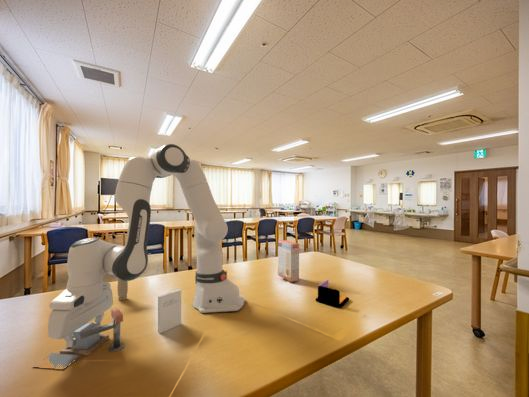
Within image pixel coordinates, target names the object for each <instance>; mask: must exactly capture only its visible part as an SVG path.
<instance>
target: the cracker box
mask: <svg viewBox="0 0 529 397" xmlns="http://www.w3.org/2000/svg"><path fill="white" fill-rule="evenodd" d="M277 242H278V243H277V276H279V277H280V278H283V279H284V280H286V281H288V282H290V283H292V282H293V283H294V282H299V280H300V243H297V242H294V241H290V240H287V239H282V240H278V241H277Z"/></svg>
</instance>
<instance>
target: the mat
mask: <svg viewBox="0 0 529 397" xmlns="http://www.w3.org/2000/svg"><path fill="white" fill-rule="evenodd" d="M80 356H81V354H60V352H58V353H57V352H55V353H54V352H51V353H50V354H49V355H46V357H49V361H50V363H51V362H52V363H53V365H54V367H55V368H56V366H57V365H58V364H59V365H60V364H61V365H62V366H63V368H64V367H66V366H68V365H69V364H70V363H72V362H73V361H74V360H76V359H77V358H78V359H79V357H80ZM81 357H82V356H81ZM81 357H80V358H81ZM47 359H48V358H47ZM78 359H77V360H78ZM77 360H76V361H77ZM52 363H51V364H52ZM73 363H74V362H73ZM73 363H72V364H73ZM61 365H60V366H61ZM60 366H59V367H60ZM62 366H61V367H62ZM57 367H58V366H57ZM68 367H69V366H68ZM63 368H62V369H63Z"/></svg>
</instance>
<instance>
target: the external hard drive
mask: <svg viewBox="0 0 529 397" xmlns="http://www.w3.org/2000/svg"><path fill="white" fill-rule="evenodd" d="M181 324H182V289H180V288H179V289H173V290H171V291H169V292H165V293H162V294H159V295H157V333H159V334H161V333H162V334H163V333H164V332H167V331H168V330H171V329H173V328H175V327H178V326H180V325H181Z"/></svg>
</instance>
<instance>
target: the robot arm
mask: <svg viewBox="0 0 529 397" xmlns="http://www.w3.org/2000/svg"><path fill="white" fill-rule="evenodd" d="M170 176H174V177H175V178H176V179H177V181H178V182H179V186H180V188H181V190H182V191H181V192H182V193H183V197H184V198H185V202H186V204H187V207H188V209H189V210H190V212H191V214H192V216H193V218H194V225H193V227H194V237H195V238H194V240H195V249H196V271H195V278H194V279H195V290H194V291H195V293H194V297H193V301H192V306H193V308H195V309H197V310H198V311H199V313H201V314H202V313H204V314H205V313H219V312H220V313H222V312H236V311H239V310H240V309H242V308H243V306H244V304H245V296H244V295H242V294H240V289H239V287H238V285H237V284H235V283H234V282H233V281H231V280H230V279H229V278H227V277H228V271H227V270H224V269H223V250H222V249H223V248H222V245H221V241H223V239H225V237H226V236H227V234H228V228H229V227H228V224H227V222H226V221H225V219H224V217H223V215H222V213H221V210H220V209H219V206H218V205H217V203H216V201H215V199H214V196H213V193H212V191H211V187H210V185H209V182H208V179H207V178H206V177H207V176H206V175H205V172H204V170H203V169H202V166H201V164H200V163H199V161H197V160H195V159H191V158H190V157H189V156H188V155H187V154H186V152H185V150H184V149H182V148H181V147H180V146H179V145H177V144H173V143H168V144H167V143H166V144H164V145H162V146H160V147H158V148H157V149H156V150H154V151H153V152H152V154H150V155H149V156H147V157H144V156H132V157H129V158H128V160H126V162H125V164H124V166H123V168H122V170H121V172H120V175H119V177H118V182H117V183H116V188H115V194H114V197H115V198H114V200H115V202H116V203H117V205H118V207H119V208H120V209H122V210H123V211H124V212H125V214H126V216H127V217H128V227H127V233H126V239H125V244H124V245H121V244H116V243H110V242H107V241H105V240H102V239H101V238H99V237H87V238H83V239H79V240H77V241H75V242H74V243H72V244H71V245H70V247H69V250H68V255H67V266H66V271H67V272H66V273H67V275H68V279H67V282H66V288H65V289H64V290H62V291H61V293H59V294H58V296H56V297H55V298H54V299H52V300H51V301H50V302H49V304H48V307H49V309H50V310H51V311H50V313H49V315H48V322H47V335H48V337H49V338H50V339H52V340H64V341H65V344H66V346H67V347H72V346H74V345H75V344H76V338H73V337H72V335H73V334H74V331H75V330H77V329H79V328H80V327H82V326H83V325H85V324H86V323H90V322H91V321H92V320H94V322H93V323H100V326H102V320H103V318H104V316H105V312H106V311H109V309H111V308H112V306H113V304H114V297H113V291H112V290H113V289H112V288H111V283H110V282H109V281H104V280H103V279H104V276H106V275H111V276H114V277H116V278H117V279H118V278H119V279H121V280H124V281H127V282H130V281H133V280H136V279H138V278H139V277H140V276H142V274H144V272H145V271H146V269H147V267H148V264H149V256H148V239H149V232H150V225H151V224H150V223H151V213H152V209H151V205H150V204H151V203H150V202H151V195H152V194H151V193H152V189H153V185H154V181H155V179H157V178H158V179H163V178H168V177H170ZM66 346H65V347H66Z"/></svg>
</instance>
